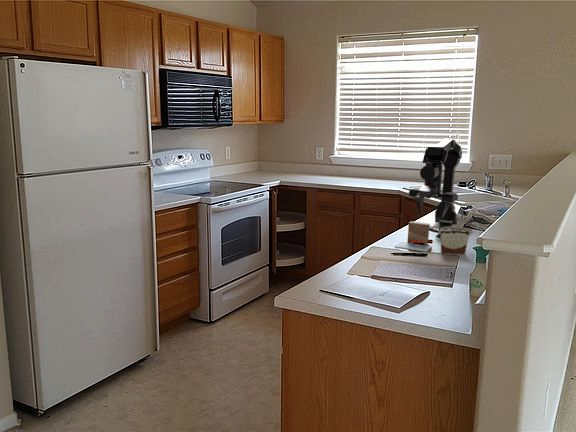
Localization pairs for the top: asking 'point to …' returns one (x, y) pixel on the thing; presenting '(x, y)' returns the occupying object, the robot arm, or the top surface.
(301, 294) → the top surface
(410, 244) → the board
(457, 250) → the food container
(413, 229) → the wooden block
